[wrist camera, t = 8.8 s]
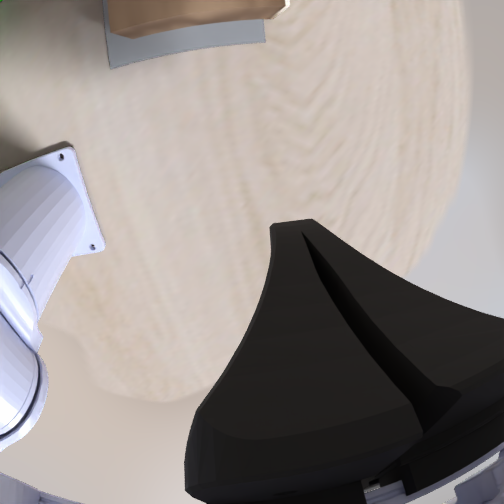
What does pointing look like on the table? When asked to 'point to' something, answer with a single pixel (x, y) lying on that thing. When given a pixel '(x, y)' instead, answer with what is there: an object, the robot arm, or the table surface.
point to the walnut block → (184, 14)
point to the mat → (180, 39)
